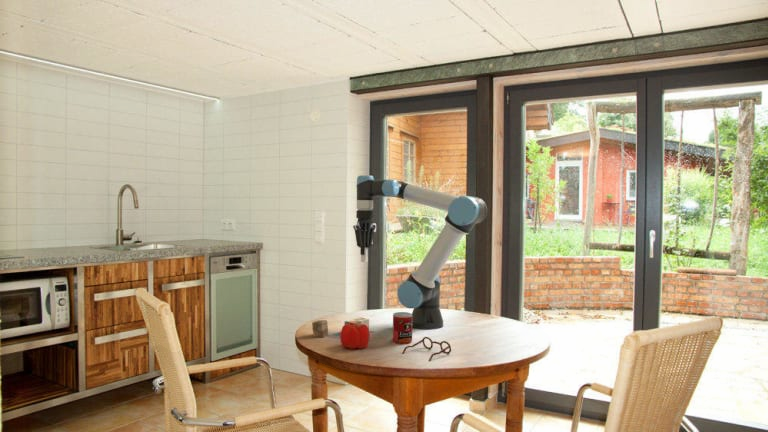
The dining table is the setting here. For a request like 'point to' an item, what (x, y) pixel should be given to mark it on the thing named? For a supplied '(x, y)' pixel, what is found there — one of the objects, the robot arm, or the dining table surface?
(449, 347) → the glasses
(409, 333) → the canned food
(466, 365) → the dining table surface
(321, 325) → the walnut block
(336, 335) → the rubber mat
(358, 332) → the tomato
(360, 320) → the birch block
